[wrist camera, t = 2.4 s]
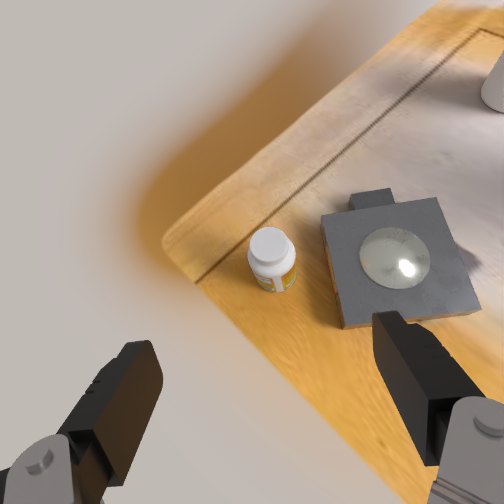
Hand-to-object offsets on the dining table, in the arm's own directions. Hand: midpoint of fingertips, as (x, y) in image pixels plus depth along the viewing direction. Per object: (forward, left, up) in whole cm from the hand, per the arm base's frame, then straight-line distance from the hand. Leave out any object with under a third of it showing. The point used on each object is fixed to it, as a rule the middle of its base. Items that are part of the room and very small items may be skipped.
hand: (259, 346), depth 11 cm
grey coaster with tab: (-18, +4, -26) cm, 32 cm away
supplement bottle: (-10, -7, -26) cm, 29 cm away
